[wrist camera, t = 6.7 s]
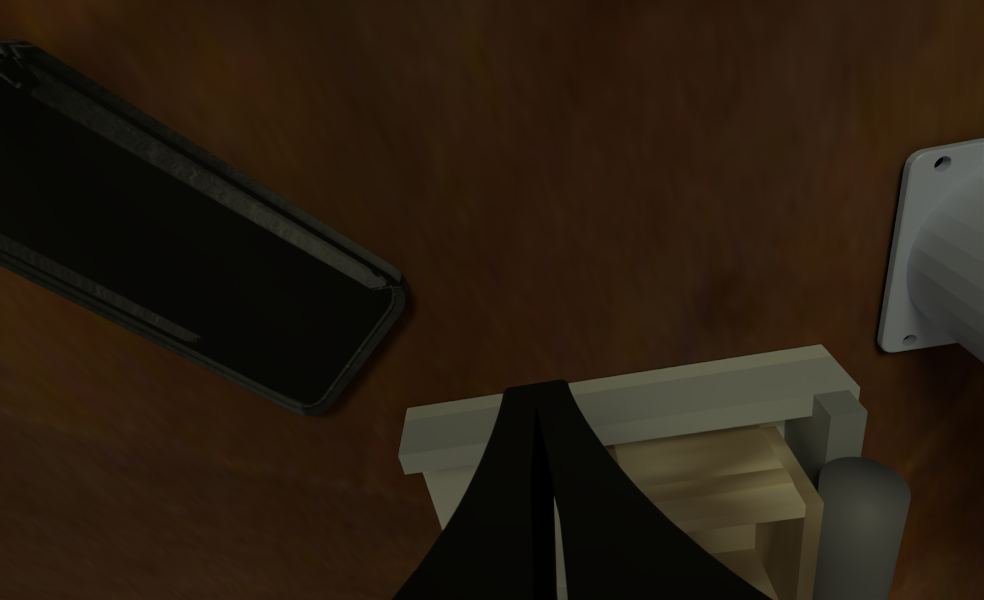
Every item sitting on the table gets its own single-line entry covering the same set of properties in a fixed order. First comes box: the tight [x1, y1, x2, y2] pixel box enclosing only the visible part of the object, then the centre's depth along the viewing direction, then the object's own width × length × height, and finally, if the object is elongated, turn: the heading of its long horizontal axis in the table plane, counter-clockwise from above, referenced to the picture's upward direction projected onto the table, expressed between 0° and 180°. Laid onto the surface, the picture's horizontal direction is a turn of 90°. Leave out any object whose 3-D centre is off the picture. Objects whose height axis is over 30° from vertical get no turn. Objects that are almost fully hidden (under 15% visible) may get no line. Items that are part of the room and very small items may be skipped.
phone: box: [0, 39, 408, 416], centre depth 21 cm, size 8×1×15 cm
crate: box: [604, 422, 824, 600], centre depth 24 cm, size 7×8×4 cm
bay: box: [398, 344, 911, 600], centre depth 24 cm, size 17×13×7 cm
